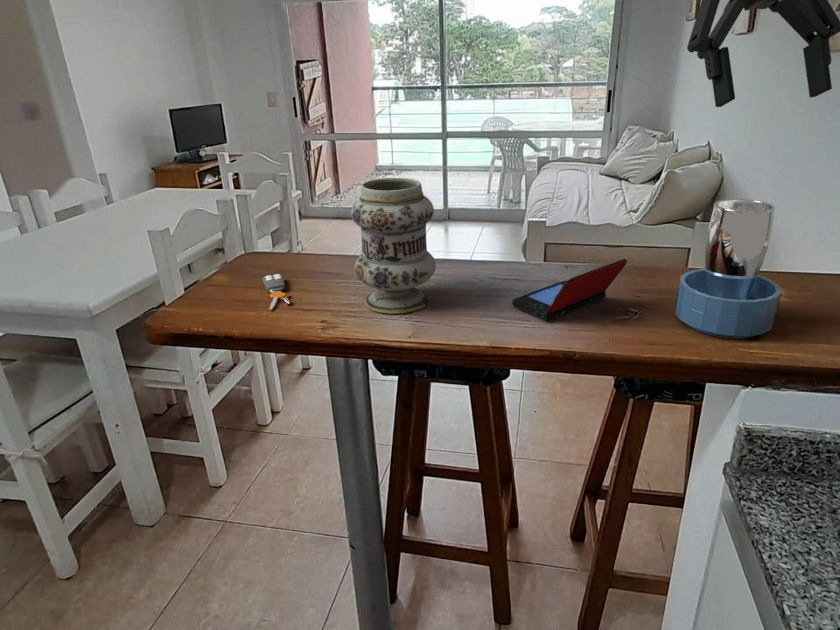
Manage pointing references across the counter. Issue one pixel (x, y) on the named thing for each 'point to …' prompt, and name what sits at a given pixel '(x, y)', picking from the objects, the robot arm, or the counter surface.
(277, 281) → the key chain
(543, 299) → the handheld console
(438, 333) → the counter surface
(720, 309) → the bowl
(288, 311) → the counter surface
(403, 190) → the apothecary jar
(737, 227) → the beer glass
